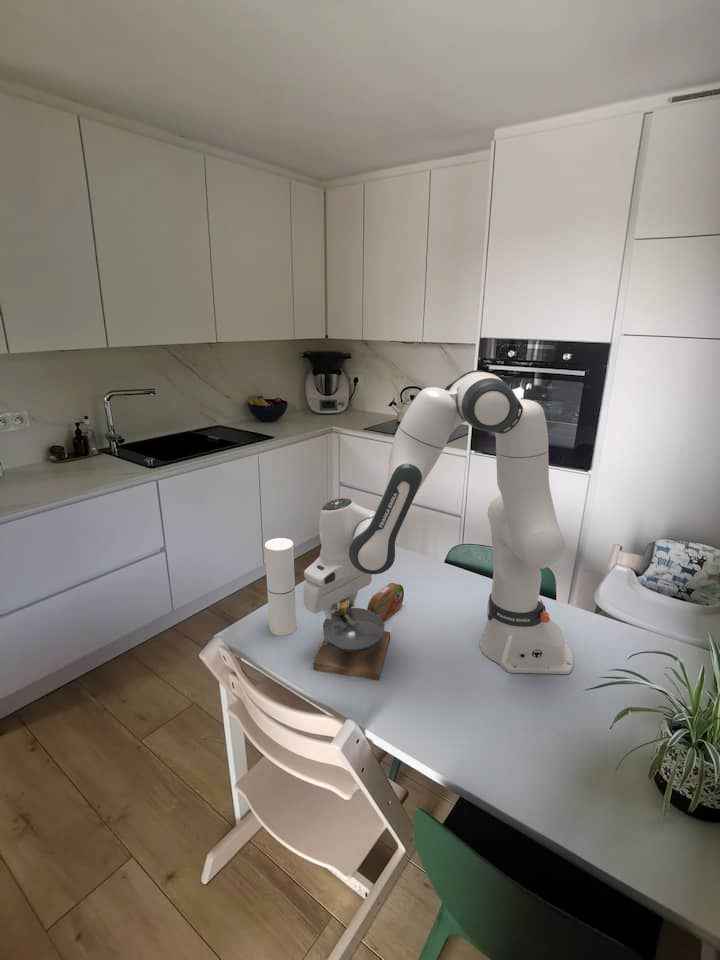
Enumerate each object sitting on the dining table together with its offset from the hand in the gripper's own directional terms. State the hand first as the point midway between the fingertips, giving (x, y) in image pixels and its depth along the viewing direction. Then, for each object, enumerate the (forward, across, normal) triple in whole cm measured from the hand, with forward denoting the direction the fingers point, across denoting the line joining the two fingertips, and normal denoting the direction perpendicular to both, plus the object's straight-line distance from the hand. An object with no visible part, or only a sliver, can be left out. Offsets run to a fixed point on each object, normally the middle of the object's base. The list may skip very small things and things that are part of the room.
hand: (340, 612), depth 126 cm
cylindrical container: (+9, +7, -16) cm, 19 cm away
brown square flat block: (+9, +1, +5) cm, 11 cm away
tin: (+10, -17, 0) cm, 20 cm away
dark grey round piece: (+3, +1, +5) cm, 6 cm away
